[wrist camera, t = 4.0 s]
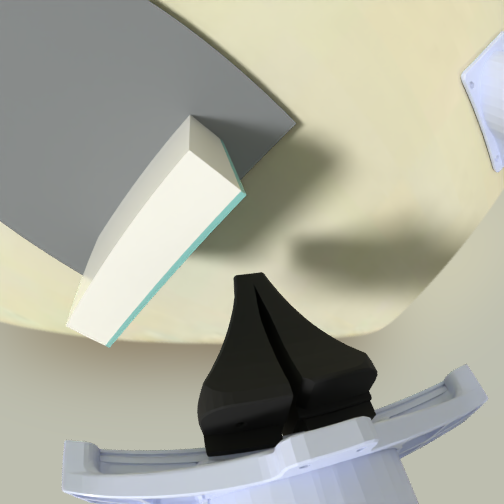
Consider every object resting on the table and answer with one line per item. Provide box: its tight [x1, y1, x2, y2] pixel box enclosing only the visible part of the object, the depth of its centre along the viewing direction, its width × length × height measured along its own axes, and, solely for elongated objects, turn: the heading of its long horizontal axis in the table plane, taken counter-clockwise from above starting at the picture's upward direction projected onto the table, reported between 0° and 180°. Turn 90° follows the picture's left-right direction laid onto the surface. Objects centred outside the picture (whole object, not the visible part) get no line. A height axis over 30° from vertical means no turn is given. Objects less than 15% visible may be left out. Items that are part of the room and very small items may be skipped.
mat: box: [0, 0, 296, 275], centre depth 11 cm, size 18×14×1 cm
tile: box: [66, 115, 246, 347], centre depth 11 cm, size 2×8×6 cm, turn 136°
